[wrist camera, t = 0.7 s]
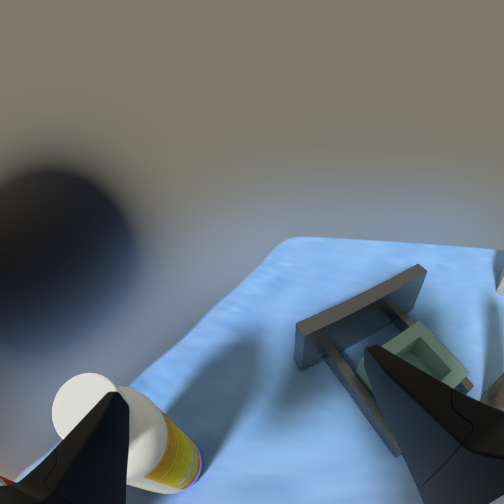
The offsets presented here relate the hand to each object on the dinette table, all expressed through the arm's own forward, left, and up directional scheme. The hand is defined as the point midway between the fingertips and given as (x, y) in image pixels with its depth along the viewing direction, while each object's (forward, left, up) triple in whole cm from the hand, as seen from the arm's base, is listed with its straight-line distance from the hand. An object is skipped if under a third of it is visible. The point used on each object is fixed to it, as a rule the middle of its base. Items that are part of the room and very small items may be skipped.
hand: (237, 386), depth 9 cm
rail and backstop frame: (+1, -15, -16) cm, 22 cm away
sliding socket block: (0, -15, -16) cm, 22 cm away
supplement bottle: (+3, +8, -16) cm, 18 cm away
